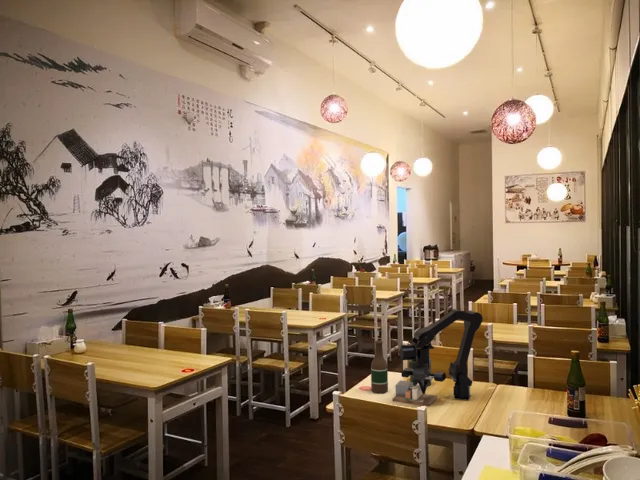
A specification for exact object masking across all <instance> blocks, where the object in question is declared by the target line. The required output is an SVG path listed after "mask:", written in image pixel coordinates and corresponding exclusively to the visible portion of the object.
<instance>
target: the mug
mask: <svg viewBox="0 0 640 480" xmlns="http://www.w3.org/2000/svg"><path fill="white" fill-rule="evenodd" d="M408 361H409V362H408V368H411V369H413V370H414V369H415V367H416V362H417V357H416V358H415V359H414V360H408ZM430 371H431V372H430V373H432V359H431V358H430ZM409 382H413V387H415V386H416V385H417V384H418V382H417V381H416V380H414V377H413V375H410V376H409ZM431 384H432V380H431V381H430V382H429V384H428V386H431ZM428 386H427V387H428Z"/></svg>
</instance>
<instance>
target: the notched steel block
mask: <svg viewBox="0 0 640 480" xmlns="http://www.w3.org/2000/svg"><path fill="white" fill-rule="evenodd" d="M410 387H414V385H413V382H410V381H406V380H399V381H398V382H397V383H396V384H395V396H400V397H406V391H407V390H409V391H410ZM411 394H412V391H411Z"/></svg>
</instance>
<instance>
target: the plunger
mask: <svg viewBox="0 0 640 480" xmlns="http://www.w3.org/2000/svg"><path fill="white" fill-rule="evenodd" d="M410 391H412V399H414V400H417V399H418V398H419V397H420V396H421V395H422V394H423V393H422V391H421V388H420V385H419V383H418V384H417V385H416V386H413V387H410Z"/></svg>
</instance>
